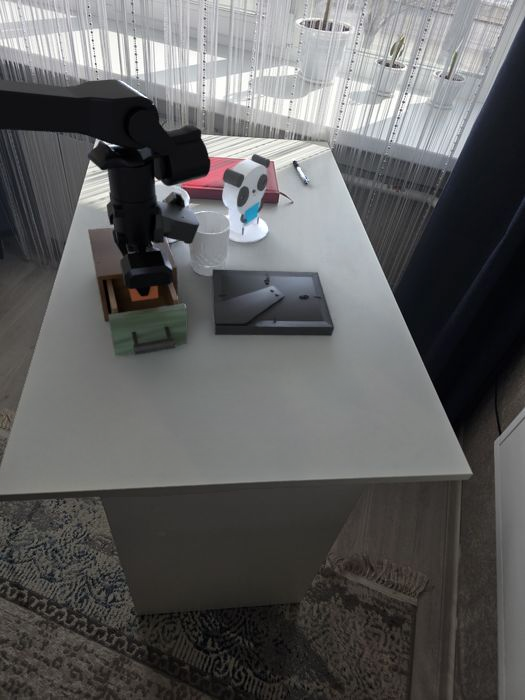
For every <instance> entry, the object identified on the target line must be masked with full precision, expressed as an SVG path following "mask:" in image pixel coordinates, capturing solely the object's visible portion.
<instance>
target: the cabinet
mask: <svg viewBox="0 0 525 700" xmlns="http://www.w3.org/2000/svg"><path fill="white" fill-rule="evenodd" d="M113 230H114V226H113V227H102V228H101V227H100V228H90V229H89V228H88V230H87V232H88V238H89V243H90V248H91V255H92V261H93V264H94V272H95V277H96V281H97V286H98V292H99V293H98V294H99V297H100V302H101V303H100V304H101V309H102V313H103V320H104V323H107V322H109V317H108V314H112V313H111V308H110V303H109V297H108V291H107V285H106V280H107V279H115V278H123V275H122V269H121V265H120V260H121V259H122V258H123V255H122V253H121V252H120V250H119V248H118V246H117V245H116V243H115V241H114V237H113V233H112V231H113ZM152 244H153V247H154V248H157V249H159V250H160V251H162V252H163V253H165V254H166V255H167V256H168V259H169V261H170V264H171V267H172V270H173V282H172V283H173V286H174V289H175V292H176V294H177V297H178V298H179V292H178V267H177V264H176V261H175V258H174V256H173V253H172V250H171V248H170V244H168V242H167V239H166V237H164V243H154V242H152ZM146 251H147V249H146ZM147 252H149V251H147Z"/></svg>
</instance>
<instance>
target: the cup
mask: <svg viewBox="0 0 525 700" xmlns="http://www.w3.org/2000/svg"><path fill="white" fill-rule="evenodd" d="M155 191H156V196H157V201H159V202H162V201H163V199H165V198H166V197H167V196H168V195H169V194H171V193H172V192H176V193H180V194H182V197H183V199H184V203H185V207H186V206H190V205H189V204H190V198H191V197H190V195H189V194H188V192H187V190H185V189H184V188H182V187H181V186H177V185H173V186H166V185H165V184H163V183H158V184H157V183H155ZM166 239H167V242H168V245H170V244H173V243H177V241H179V240H175V239H170V238H167V237H166Z"/></svg>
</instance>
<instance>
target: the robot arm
mask: <svg viewBox="0 0 525 700" xmlns="http://www.w3.org/2000/svg"><path fill="white" fill-rule="evenodd" d="M0 130H7V131H26V132H43V133H64V134H65V133H66V134H79V135H83V136H87V137H90V138H93V139H96V140H99V141H98V143H97V144H96V146H95V147H93V148H92V149H91V150H90V152H88V154H87V159H88V160H90V162H92V163H93V164H94V165H95V166H96V167H97V168H99V169H100V170H101V171H107V178H108V184H109V192H108V194H109V200H110V201H108V203H107V204H106V212H107V217H108V221H109V225H110V226H113V227H114V230H113V231H112V233H113V237H114V241H115V243H116V245H117V246H118V248H119V250H120V252H121V253H122V255H123V258H122V259H121V260H120V265H121V269H122V275H123V279H124V283H125V287H127V288H129V289H136V290H137V291H138V293H139V294H140V296H148V295H149V291H150V288H151V287H152V286H160V285H167V284H170V283H172V282H173V270H172V267H171V264H170V261H169V259H168V256H167V255H166V254H165V253H163V252H162V251H160V250H159V249H157V248H154V247H153V244H152V242H154V243H164V237H167V238H170V239H175V240H178V241H179V242H183V243H184V244H188V245H189V244H190V243H192V242H193V239H194V237H195V234H196V232H197V229H198V227H199V224H200V223H199V221H198V219H197V217H196V215H195V213H196V212H195V211H194V210H193V209H192V208H191V207H190V205H188V206H186V207H185V203H184V199H183V197H182V194H180V193H176V192H172V193H171V194H169V195H168V196H167V197H166V198H165V199H163V201H162V202H159V201H157V196H156V191H155V185H156V180H158V181H161V184H165V185H166V186H173V185H174V186H177V185H179V184H184V183H188V182H192V181H196V180H199V179H203V178H206V177H207V176H208V175H209V173H210V171H211V158H210V157H209V152H208V148H207V145H206V144H205V142H204V140H203V139H202V130H201V129H200V128H198V127H197V126H195V125H194V124H187V125H184V126H182V127H179V128H173V129H170V130H165V128H164V127H163V125H162V124H161V123H160V114H159V111H158V108H157V106H156V104H155V103H154V101H153V100H151V99H150V98H149V97H147V96H145V95H144V94H142V93H141V92H139V91H138V90H137V89H134V88H133V87H132V86H130V85H129V84H127V83H126V82H124V81H122V80H119V79H113V78H111V79H99V80H97V79H96V80H87V81H85V82H82V83H79V84H77V85H67V86H62V85H61V86H60V85H54V84H53V85H51V84H42V83H34V82H27V81H26V82H25V81H17V80H8V79H0ZM146 249H147V251H149V252H147V251H146Z"/></svg>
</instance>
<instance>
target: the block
mask: <svg viewBox="0 0 525 700" xmlns="http://www.w3.org/2000/svg"><path fill="white" fill-rule="evenodd" d="M129 292H130V296H131V300H132V301H139V300H146V299H153V298H158V286H152V287H151V288H150V291H149V295H148V296H140V294H139V293H138V291H137V290H136V289H129Z"/></svg>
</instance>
